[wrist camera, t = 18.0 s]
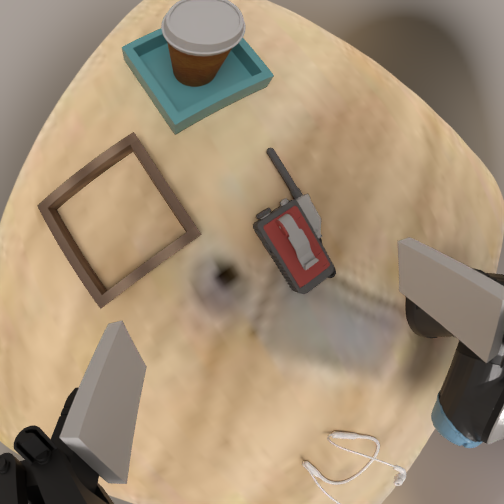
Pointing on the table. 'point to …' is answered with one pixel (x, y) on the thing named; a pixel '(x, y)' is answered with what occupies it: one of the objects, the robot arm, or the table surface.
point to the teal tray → (186, 97)
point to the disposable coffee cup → (201, 38)
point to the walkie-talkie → (295, 237)
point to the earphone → (346, 435)
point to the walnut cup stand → (85, 177)
